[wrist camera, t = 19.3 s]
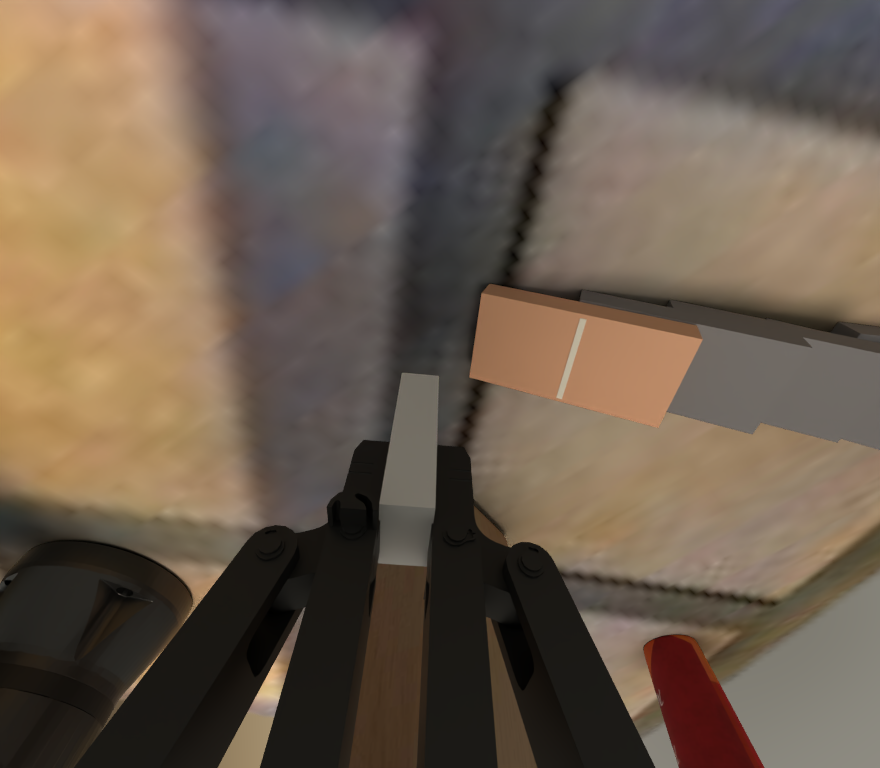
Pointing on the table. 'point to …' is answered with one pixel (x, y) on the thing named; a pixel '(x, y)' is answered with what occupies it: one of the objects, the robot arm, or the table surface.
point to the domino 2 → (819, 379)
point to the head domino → (582, 353)
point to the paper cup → (696, 707)
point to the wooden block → (419, 676)
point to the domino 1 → (725, 364)
